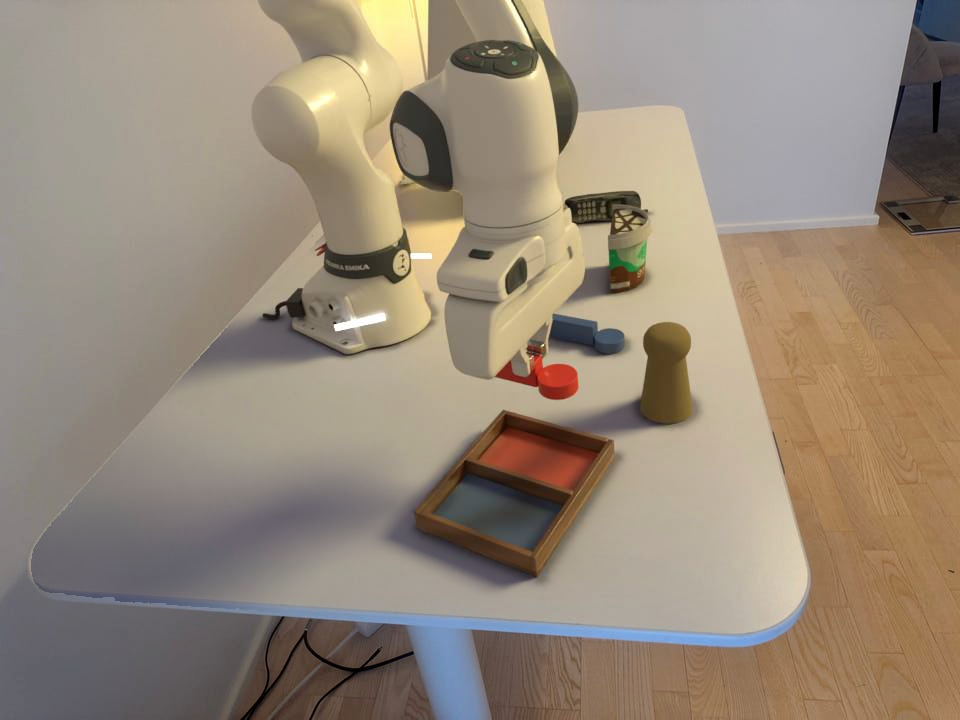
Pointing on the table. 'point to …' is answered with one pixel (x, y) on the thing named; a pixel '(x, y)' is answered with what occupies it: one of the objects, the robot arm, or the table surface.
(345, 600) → the table surface
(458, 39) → the table lamp
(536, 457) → the sorting tray
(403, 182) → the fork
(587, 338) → the blue block with disc
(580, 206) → the mobile phone
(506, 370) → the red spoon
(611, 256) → the food container
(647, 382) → the brown game pawn
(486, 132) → the robot arm
